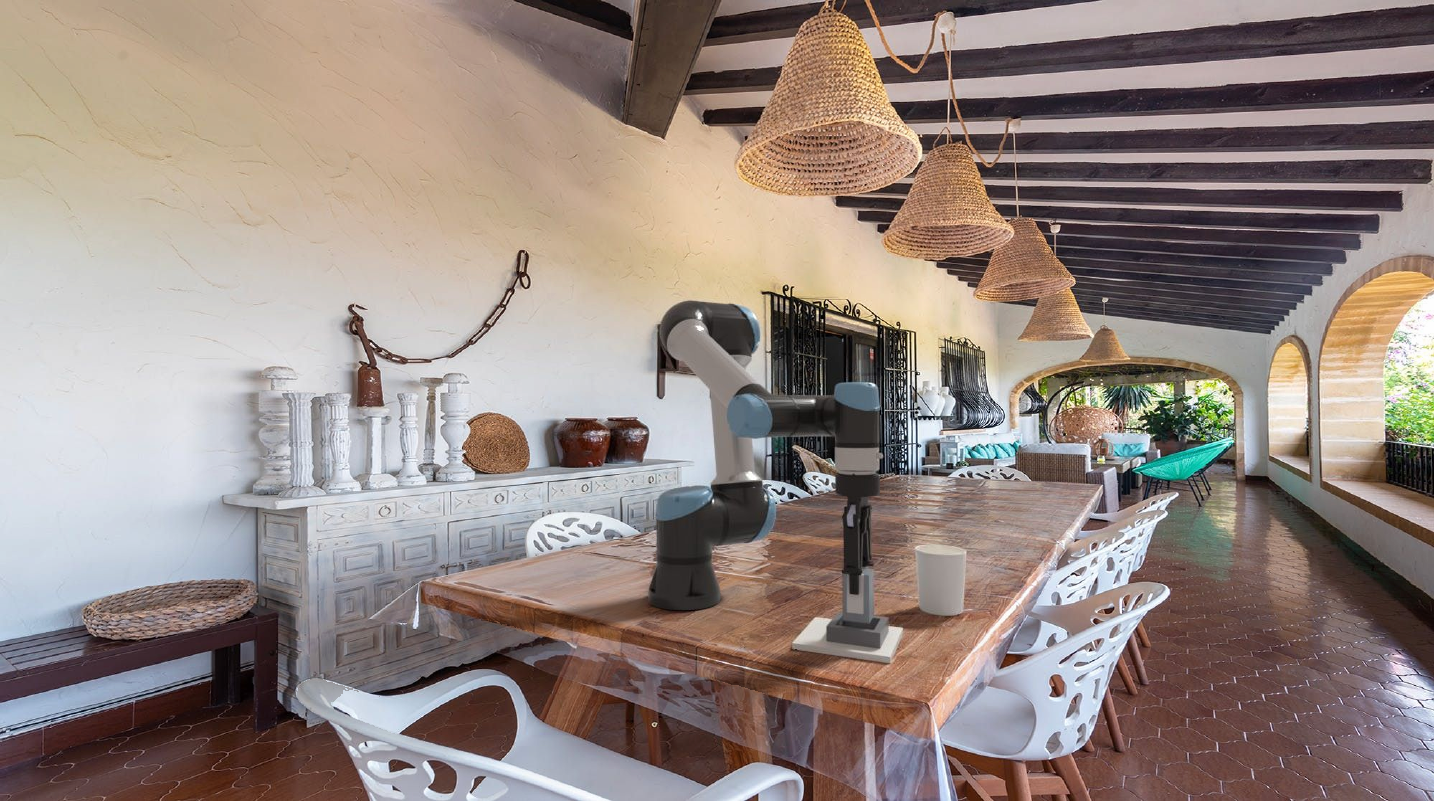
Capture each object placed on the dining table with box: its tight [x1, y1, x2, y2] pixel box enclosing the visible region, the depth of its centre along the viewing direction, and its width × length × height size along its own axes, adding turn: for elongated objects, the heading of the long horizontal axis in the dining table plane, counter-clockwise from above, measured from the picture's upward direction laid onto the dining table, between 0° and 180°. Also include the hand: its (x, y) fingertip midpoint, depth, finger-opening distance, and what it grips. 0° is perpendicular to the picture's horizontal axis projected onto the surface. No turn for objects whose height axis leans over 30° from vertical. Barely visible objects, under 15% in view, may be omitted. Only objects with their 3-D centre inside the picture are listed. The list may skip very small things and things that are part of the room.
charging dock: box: [791, 611, 904, 664], centre depth 114 cm, size 16×15×4 cm
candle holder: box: [914, 544, 968, 617], centre depth 132 cm, size 10×10×12 cm
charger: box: [841, 568, 875, 623], centre depth 113 cm, size 4×4×8 cm
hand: (858, 608), depth 113 cm, fingers closed on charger, 4 cm apart
